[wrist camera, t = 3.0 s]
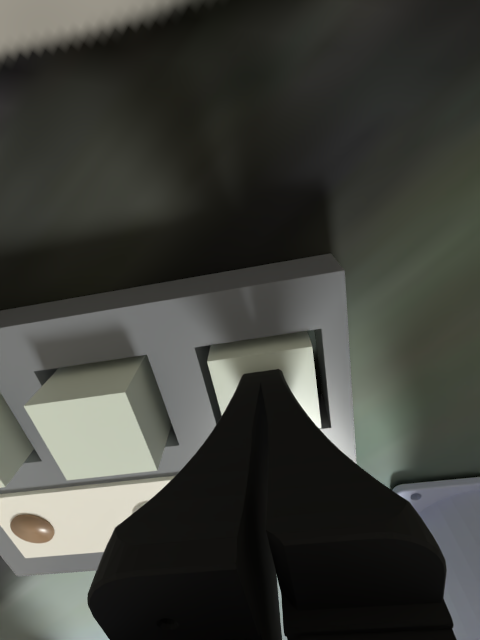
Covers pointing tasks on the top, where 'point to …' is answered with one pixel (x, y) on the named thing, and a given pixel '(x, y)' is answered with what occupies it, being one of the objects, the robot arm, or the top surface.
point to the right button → (267, 367)
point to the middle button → (102, 418)
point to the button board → (173, 381)
